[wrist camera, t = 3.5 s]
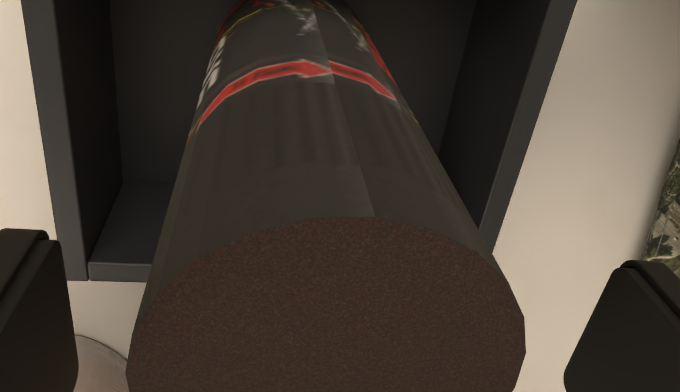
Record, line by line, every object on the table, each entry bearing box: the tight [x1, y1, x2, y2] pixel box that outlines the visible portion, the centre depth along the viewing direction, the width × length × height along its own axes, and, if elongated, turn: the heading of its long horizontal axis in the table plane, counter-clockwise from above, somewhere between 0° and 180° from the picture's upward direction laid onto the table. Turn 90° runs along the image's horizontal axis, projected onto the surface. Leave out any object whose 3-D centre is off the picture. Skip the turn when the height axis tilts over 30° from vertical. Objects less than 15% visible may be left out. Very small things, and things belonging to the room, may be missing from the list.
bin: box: [21, 0, 577, 282], centre depth 19 cm, size 15×13×6 cm
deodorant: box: [125, 0, 526, 392], centre depth 15 cm, size 6×6×15 cm
